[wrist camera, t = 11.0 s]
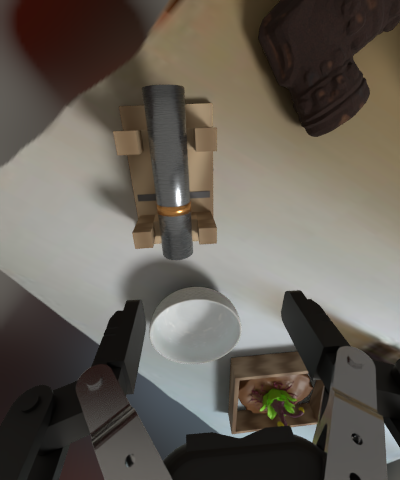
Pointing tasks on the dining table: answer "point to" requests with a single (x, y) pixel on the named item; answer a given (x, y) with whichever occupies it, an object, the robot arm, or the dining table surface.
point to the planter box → (264, 369)
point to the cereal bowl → (195, 326)
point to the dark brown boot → (324, 54)
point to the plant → (275, 395)
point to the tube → (170, 167)
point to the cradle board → (140, 165)
